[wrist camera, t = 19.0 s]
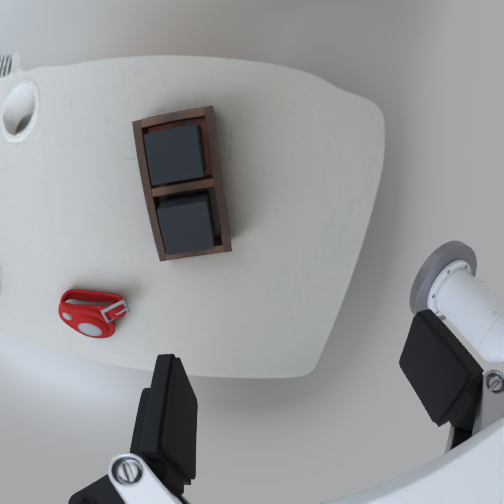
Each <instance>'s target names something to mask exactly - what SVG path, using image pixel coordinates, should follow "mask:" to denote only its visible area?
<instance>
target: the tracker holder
mask: <svg viewBox="0 0 504 504" xmlns="http://www.w3.org/2000/svg"><path fill="white" fill-rule="evenodd" d="M68 299H78V300H87V301H97V302H107V303H111V304H110V305H109V307H107V306H103V305H80V304H70V303H66V302H65V301H66V300H68ZM128 312H130V310H129V308H128V306H127V304H126V301H125V300H123V299H122V297H121V296H119V295H116V294H111V293H104V292H96V291H87V290H79V289H71V290H68V291H66V292H65V293H64V294H63V296H62V298H61V301H60V304H59V315H60V317H61V319H62V320H63V321H64V322H65V323H66V324H67V325H69V326H70V327H71V328H73V329H74V330H76V331H78V332H79V333H81V334H83V335H86V336H89V337H93V338H107V337H110V336H112V335H113V334H114V332H115V323H114V321H113V320H114V319H119V318H121V317H123V316H124V315H125V314H126V313H128Z"/></svg>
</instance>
